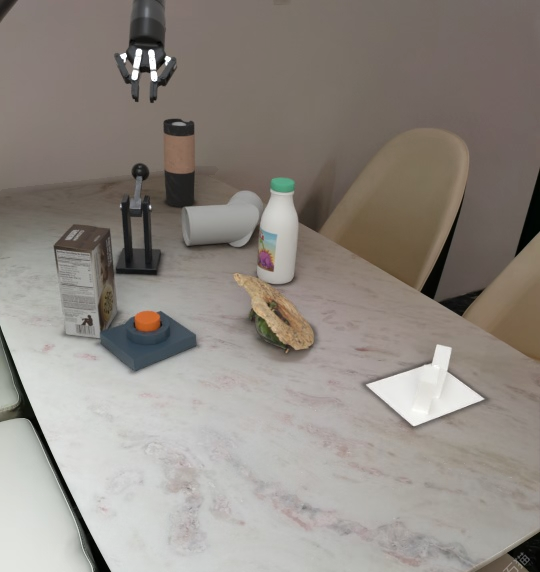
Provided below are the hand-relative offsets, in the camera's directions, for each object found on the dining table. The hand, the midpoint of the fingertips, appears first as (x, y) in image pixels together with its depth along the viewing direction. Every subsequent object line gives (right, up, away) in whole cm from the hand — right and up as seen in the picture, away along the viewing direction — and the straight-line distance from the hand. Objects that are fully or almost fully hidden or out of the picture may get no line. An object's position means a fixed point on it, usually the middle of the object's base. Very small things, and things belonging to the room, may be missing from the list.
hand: (144, 100), depth 126 cm
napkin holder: (+51, -60, -32) cm, 85 cm away
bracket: (-1, -35, -2) cm, 35 cm away
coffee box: (-4, -49, -23) cm, 54 cm away
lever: (0, -21, -4) cm, 22 cm away
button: (+7, -49, -29) cm, 58 cm away
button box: (+7, -52, -27) cm, 59 cm away
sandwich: (+28, -50, -21) cm, 61 cm away
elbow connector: (+15, -27, +13) cm, 33 cm away
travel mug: (+3, -14, +30) cm, 33 cm away
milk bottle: (+28, -38, -2) cm, 47 cm away
